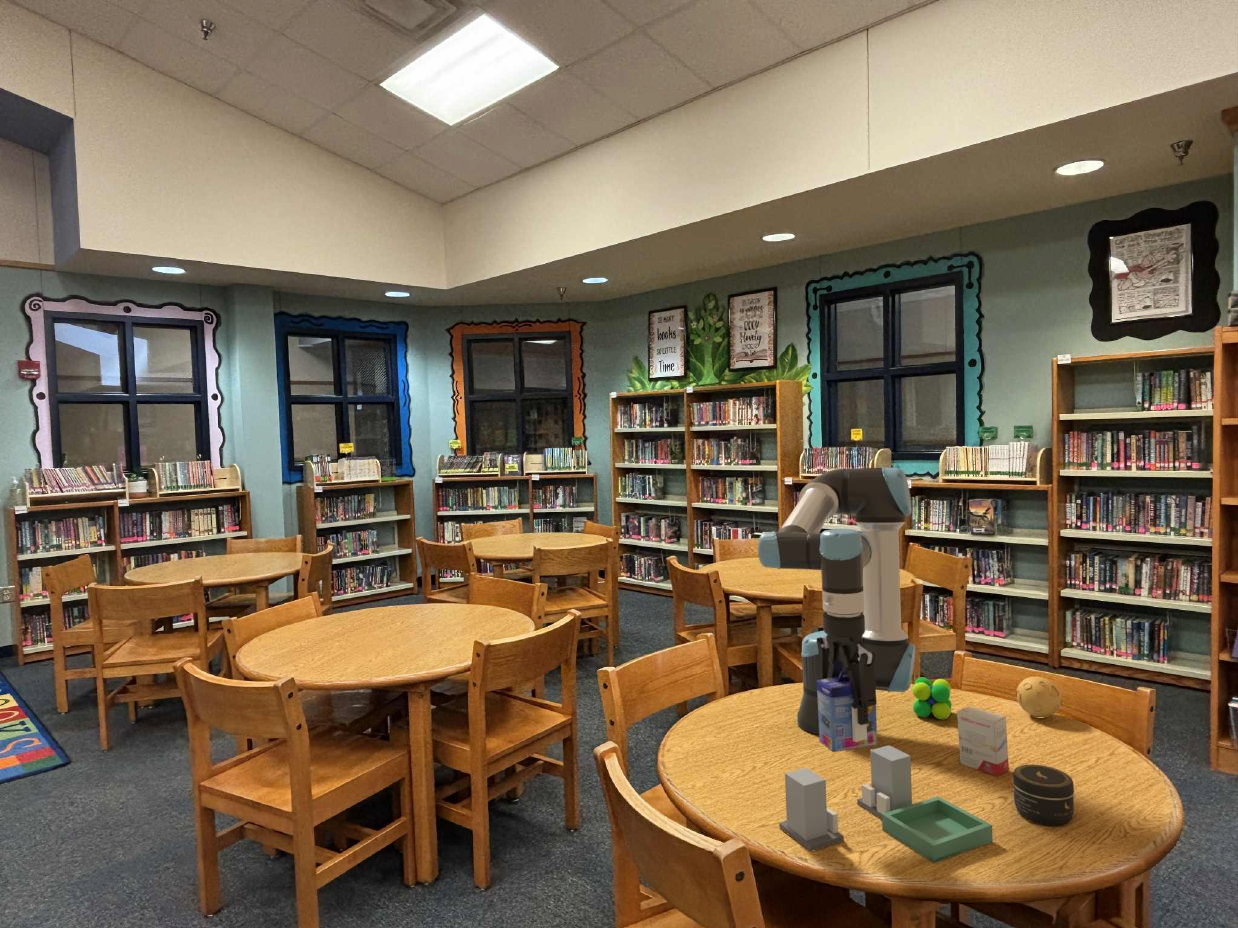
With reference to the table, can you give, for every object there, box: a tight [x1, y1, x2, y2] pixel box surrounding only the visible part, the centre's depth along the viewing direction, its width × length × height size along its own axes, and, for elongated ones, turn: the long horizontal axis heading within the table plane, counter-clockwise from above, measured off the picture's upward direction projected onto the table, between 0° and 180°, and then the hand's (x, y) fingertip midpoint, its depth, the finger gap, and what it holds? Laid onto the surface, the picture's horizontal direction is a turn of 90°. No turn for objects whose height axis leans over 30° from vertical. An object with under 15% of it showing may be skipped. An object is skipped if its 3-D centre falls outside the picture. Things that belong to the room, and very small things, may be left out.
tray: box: [881, 796, 994, 864], centre depth 132 cm, size 12×14×3 cm
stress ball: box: [1015, 676, 1063, 718], centre depth 184 cm, size 10×10×10 cm
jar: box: [1012, 764, 1075, 828], centre depth 138 cm, size 10×10×8 cm
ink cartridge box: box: [817, 670, 878, 753], centre depth 138 cm, size 10×6×14 cm, turn 106°
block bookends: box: [778, 745, 913, 852], centre depth 138 cm, size 9×26×11 cm, turn 114°
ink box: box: [956, 706, 1010, 777], centre depth 158 cm, size 9×5×12 cm, turn 33°
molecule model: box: [912, 676, 952, 721], centre depth 188 cm, size 9×9×9 cm
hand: (847, 733), depth 138 cm, fingers closed on ink cartridge box, 6 cm apart
